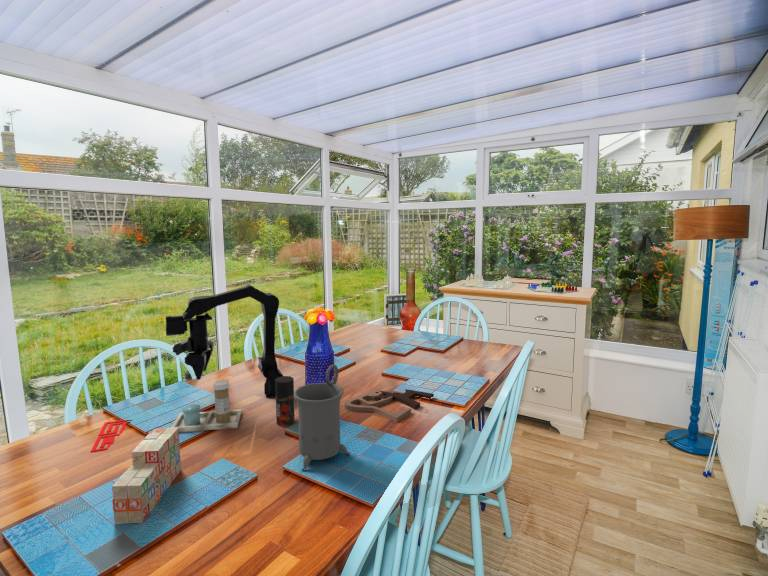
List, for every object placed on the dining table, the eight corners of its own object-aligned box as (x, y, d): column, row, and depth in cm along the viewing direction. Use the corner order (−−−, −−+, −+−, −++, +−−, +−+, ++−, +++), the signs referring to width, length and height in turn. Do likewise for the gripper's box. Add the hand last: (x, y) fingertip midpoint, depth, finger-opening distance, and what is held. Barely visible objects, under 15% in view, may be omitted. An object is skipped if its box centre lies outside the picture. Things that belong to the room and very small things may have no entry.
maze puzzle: (104, 424, 142) (104, 422, 142) (171, 414, 150) (171, 412, 150) (90, 453, 124) (90, 451, 124) (167, 440, 132) (167, 438, 131)
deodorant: (297, 419, 145) (296, 377, 143) (288, 427, 140) (287, 383, 138) (282, 417, 147) (281, 375, 145) (272, 424, 142) (271, 381, 140)
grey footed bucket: (326, 478, 112) (325, 386, 108) (280, 465, 118) (277, 378, 114) (359, 445, 129) (359, 365, 125) (318, 435, 135) (316, 358, 131)
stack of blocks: (143, 524, 94) (139, 472, 93) (114, 525, 94) (109, 473, 92) (181, 469, 115) (178, 426, 114) (157, 470, 115) (154, 427, 113)
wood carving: (434, 399, 165) (384, 385, 178) (434, 393, 164) (384, 380, 178) (393, 426, 142) (339, 408, 156) (393, 420, 142) (339, 403, 155)
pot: (203, 419, 143) (202, 403, 142) (199, 426, 138) (198, 410, 137) (185, 420, 142) (184, 404, 141) (181, 428, 137) (180, 411, 136)
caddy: (241, 415, 148) (241, 409, 148) (237, 430, 137) (237, 423, 137) (180, 420, 144) (179, 413, 144) (170, 435, 134) (169, 428, 133)
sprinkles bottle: (226, 416, 145) (224, 378, 143) (232, 421, 142) (231, 382, 140) (213, 421, 142) (211, 382, 140) (219, 425, 138) (217, 385, 137)
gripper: (180, 327, 159) (183, 368, 161) (166, 340, 141) (170, 386, 143) (212, 326, 161) (215, 366, 164) (202, 339, 143) (205, 383, 145)
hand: (201, 374), depth 154 cm, fingers open, 9 cm apart
